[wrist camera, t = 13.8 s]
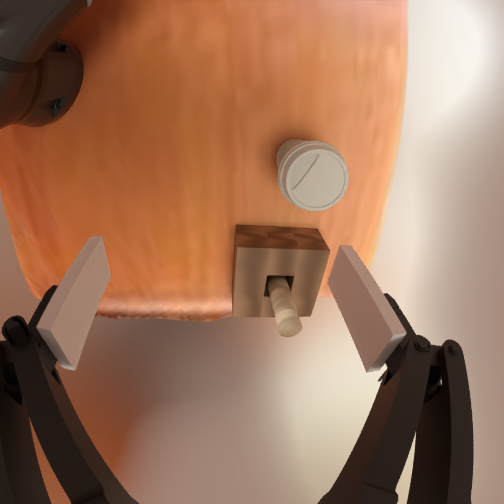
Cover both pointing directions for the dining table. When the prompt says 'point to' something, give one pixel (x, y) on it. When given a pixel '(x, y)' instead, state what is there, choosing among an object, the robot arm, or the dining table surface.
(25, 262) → the dining table surface
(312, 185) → the coffee cup
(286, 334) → the dowel
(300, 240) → the bore block
